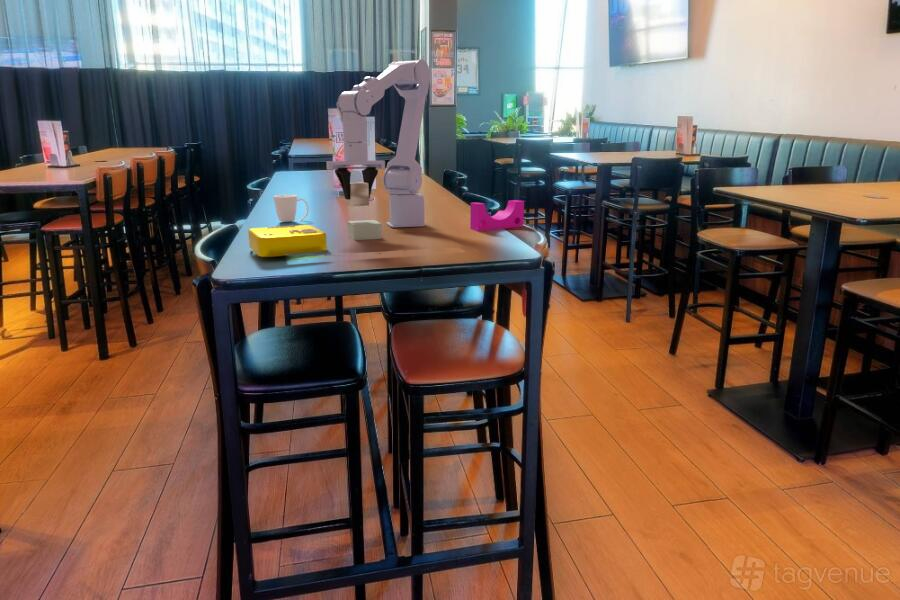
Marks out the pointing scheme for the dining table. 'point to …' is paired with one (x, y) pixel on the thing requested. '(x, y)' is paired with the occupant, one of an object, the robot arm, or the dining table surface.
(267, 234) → the element tile
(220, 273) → the dining table surface
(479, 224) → the toy block
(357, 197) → the ash block
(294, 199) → the cup
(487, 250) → the dining table surface
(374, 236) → the sage base block
